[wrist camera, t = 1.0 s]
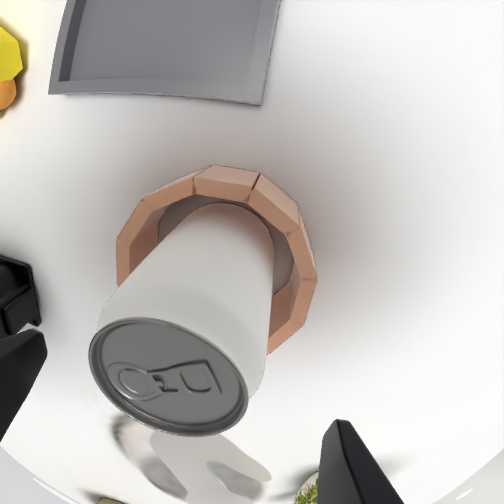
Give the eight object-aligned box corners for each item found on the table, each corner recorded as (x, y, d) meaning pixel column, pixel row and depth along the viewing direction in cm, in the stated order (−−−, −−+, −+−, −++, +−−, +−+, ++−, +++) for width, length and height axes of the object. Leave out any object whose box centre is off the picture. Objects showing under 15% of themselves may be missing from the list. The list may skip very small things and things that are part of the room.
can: (162, 215, 20) (47, 318, 9) (259, 189, 19) (223, 286, 8) (195, 301, 22) (132, 441, 11) (285, 284, 21) (282, 439, 10)
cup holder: (145, 302, 23) (120, 337, 19) (152, 156, 19) (118, 166, 14) (287, 331, 22) (287, 375, 18) (325, 185, 18) (337, 203, 14)
